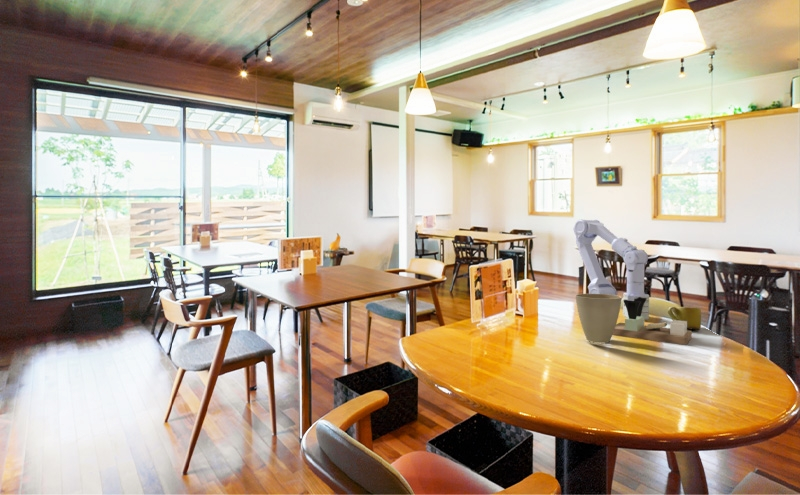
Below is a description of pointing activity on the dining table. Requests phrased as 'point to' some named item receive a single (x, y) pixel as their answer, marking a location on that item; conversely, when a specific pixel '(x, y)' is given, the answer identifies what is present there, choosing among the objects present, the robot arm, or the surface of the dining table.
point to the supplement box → (644, 311)
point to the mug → (687, 316)
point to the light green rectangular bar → (634, 323)
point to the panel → (653, 334)
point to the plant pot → (598, 315)
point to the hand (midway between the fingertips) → (634, 317)
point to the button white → (678, 327)
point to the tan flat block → (656, 325)
